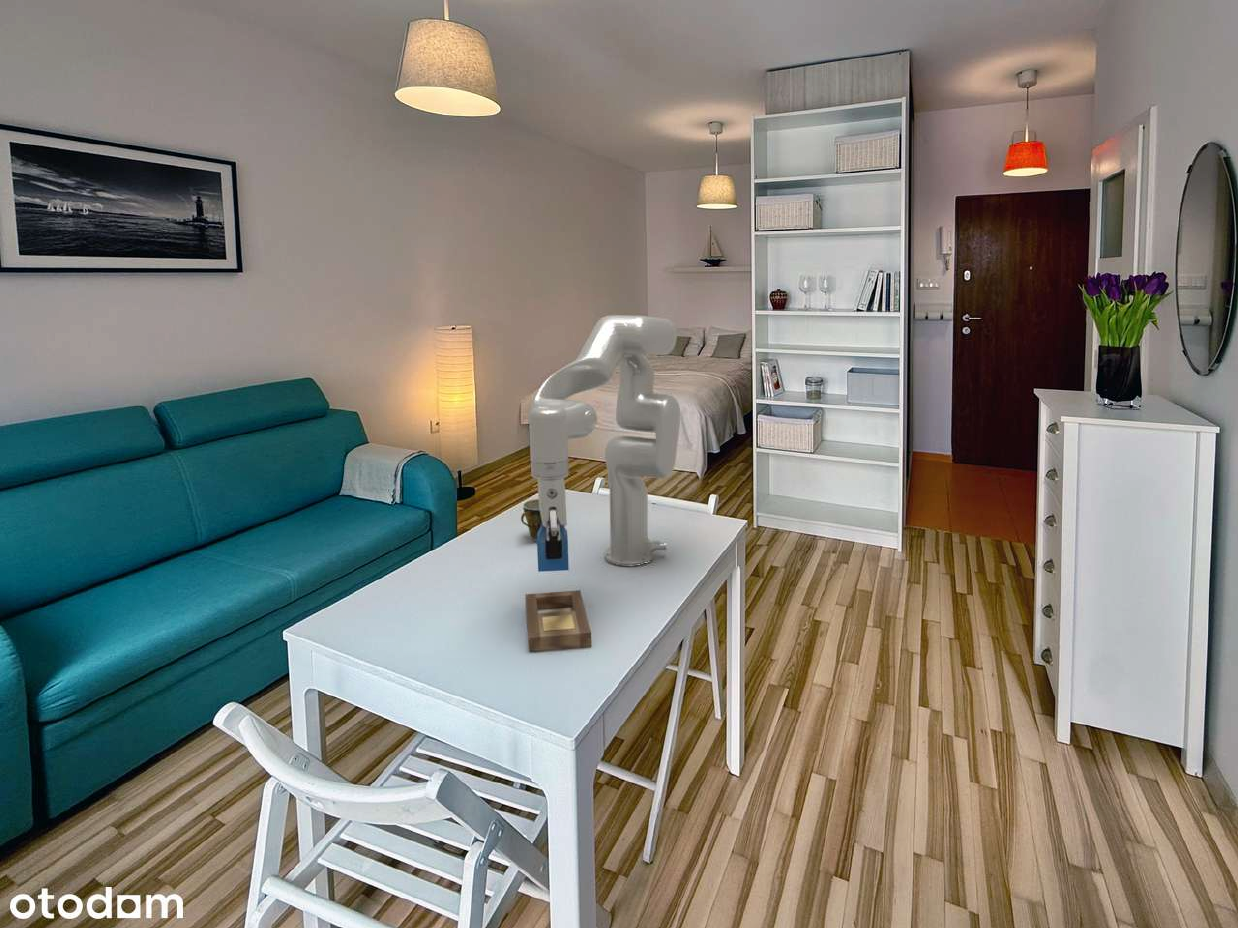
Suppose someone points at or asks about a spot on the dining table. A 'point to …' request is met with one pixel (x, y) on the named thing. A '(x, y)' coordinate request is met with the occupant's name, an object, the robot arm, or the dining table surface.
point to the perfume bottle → (541, 551)
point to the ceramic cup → (532, 517)
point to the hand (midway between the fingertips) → (552, 551)
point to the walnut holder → (557, 621)
